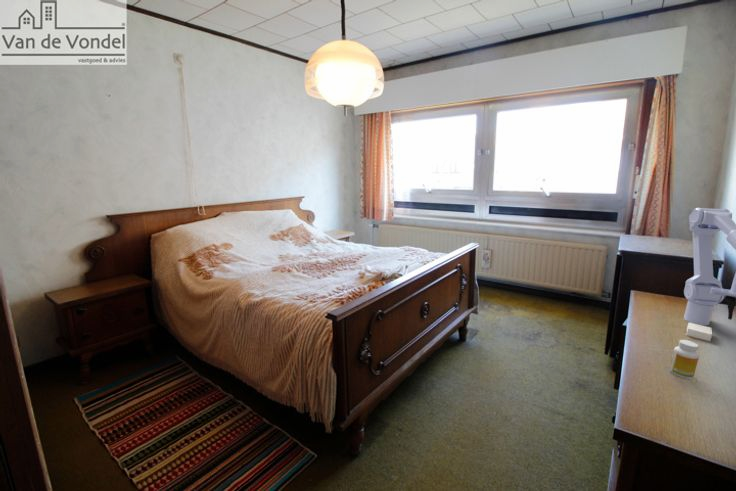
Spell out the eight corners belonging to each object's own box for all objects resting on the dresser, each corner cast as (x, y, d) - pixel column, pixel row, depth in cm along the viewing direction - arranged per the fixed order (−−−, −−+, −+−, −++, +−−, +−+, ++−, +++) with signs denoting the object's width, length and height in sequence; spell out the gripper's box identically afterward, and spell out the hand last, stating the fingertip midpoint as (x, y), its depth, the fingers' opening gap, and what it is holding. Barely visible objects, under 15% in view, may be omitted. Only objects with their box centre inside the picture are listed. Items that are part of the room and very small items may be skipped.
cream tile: (686, 328, 127) (688, 322, 126) (709, 334, 123) (711, 327, 122) (686, 335, 122) (688, 328, 121) (710, 341, 118) (712, 334, 117)
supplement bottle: (698, 380, 98) (707, 349, 96) (676, 377, 99) (684, 346, 97) (685, 369, 103) (693, 339, 101) (664, 367, 104) (672, 337, 102)
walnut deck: (684, 330, 128) (685, 327, 127) (710, 337, 123) (711, 334, 123) (683, 338, 122) (684, 335, 122) (711, 345, 117) (712, 342, 117)
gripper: (715, 278, 114) (705, 316, 117) (782, 289, 105) (769, 331, 108) (714, 273, 119) (704, 310, 122) (778, 284, 110) (766, 323, 113)
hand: (734, 319), depth 115 cm, fingers closed
